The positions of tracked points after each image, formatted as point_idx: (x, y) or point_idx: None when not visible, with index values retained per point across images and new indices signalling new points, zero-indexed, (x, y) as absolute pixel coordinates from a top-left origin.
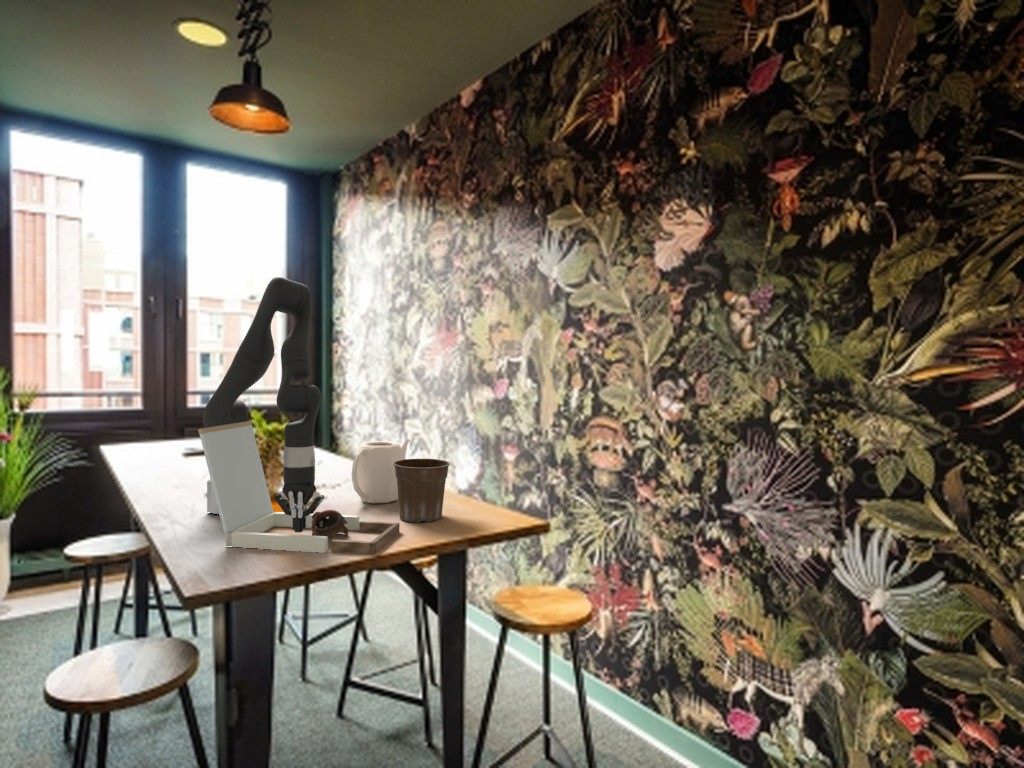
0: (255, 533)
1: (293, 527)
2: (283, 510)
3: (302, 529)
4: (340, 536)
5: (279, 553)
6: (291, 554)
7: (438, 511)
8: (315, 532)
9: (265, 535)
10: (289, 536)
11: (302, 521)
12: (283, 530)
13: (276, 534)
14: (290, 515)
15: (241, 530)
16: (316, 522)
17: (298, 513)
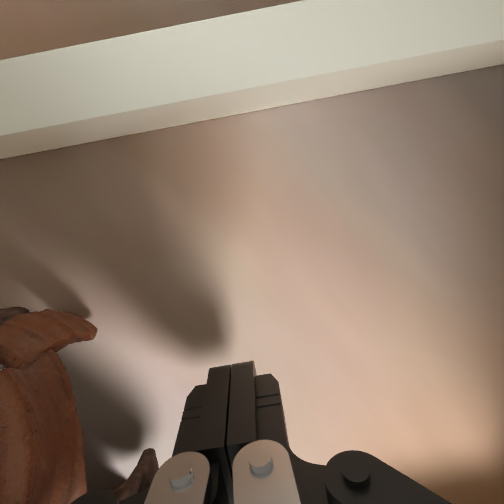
0: (436, 16)
1: (272, 386)
2: (423, 493)
3: (193, 389)
4: None
5: (117, 11)
6: (17, 23)
7: None
8: (6, 337)
9: (292, 3)
10: (21, 56)
11: (183, 440)
12: (438, 453)
13: (194, 63)
14: (318, 466)
15: None
16: None
17: (197, 496)
